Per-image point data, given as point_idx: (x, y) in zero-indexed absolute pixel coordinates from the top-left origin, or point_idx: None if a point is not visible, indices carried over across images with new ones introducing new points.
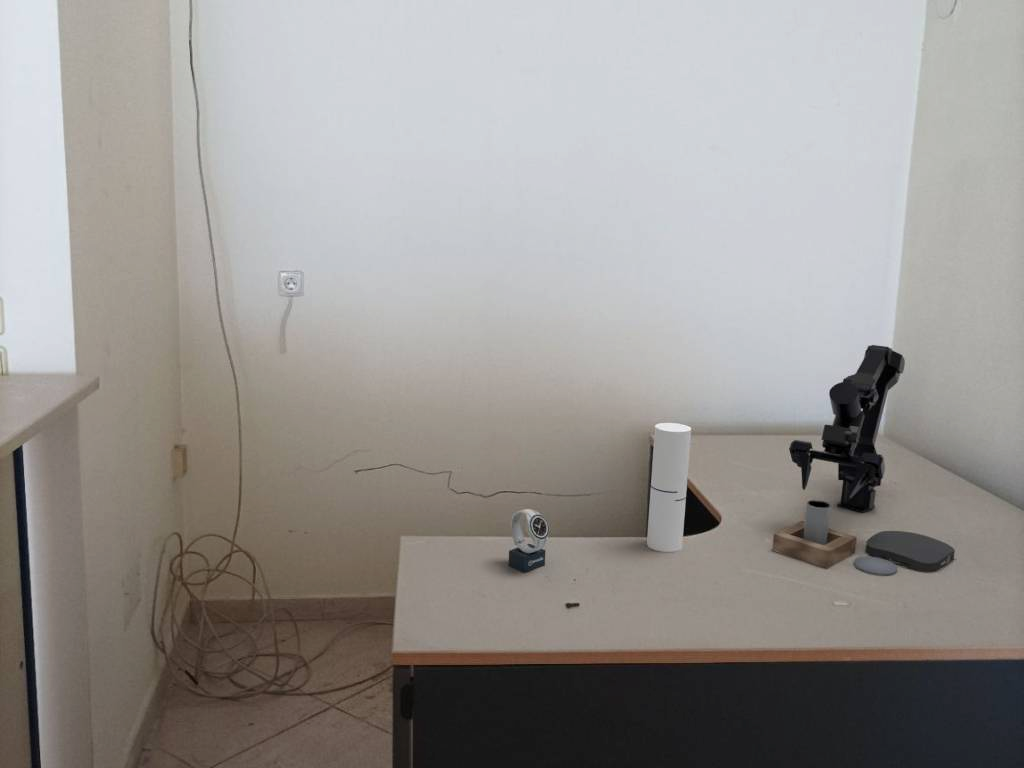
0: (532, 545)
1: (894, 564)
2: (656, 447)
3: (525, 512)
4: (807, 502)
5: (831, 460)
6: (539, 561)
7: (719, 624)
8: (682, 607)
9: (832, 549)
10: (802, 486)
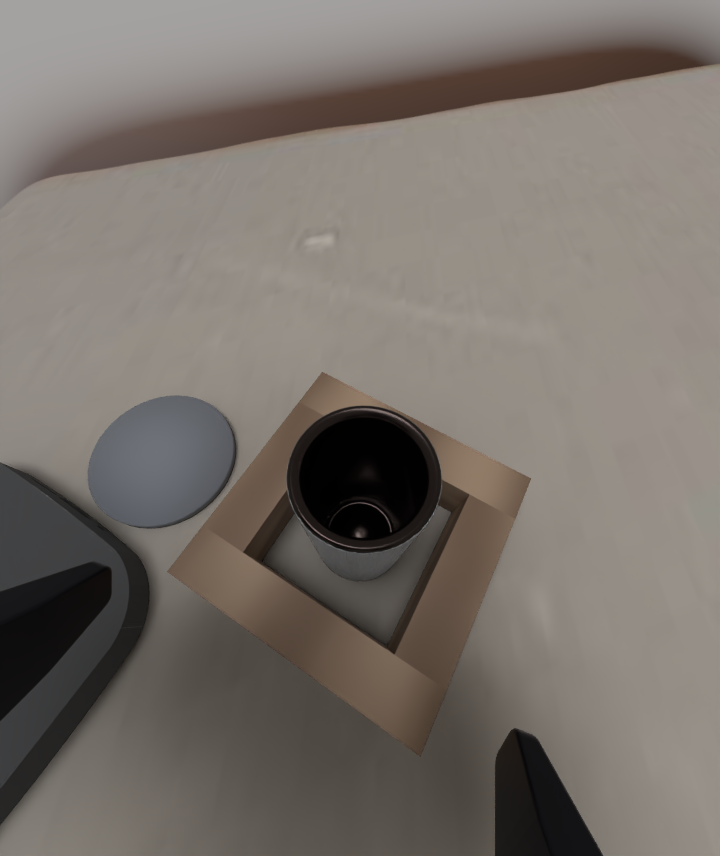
0: None
1: (90, 475)
2: None
3: None
4: (440, 478)
5: None
6: None
7: (528, 142)
8: (604, 169)
9: (307, 394)
10: (536, 738)
